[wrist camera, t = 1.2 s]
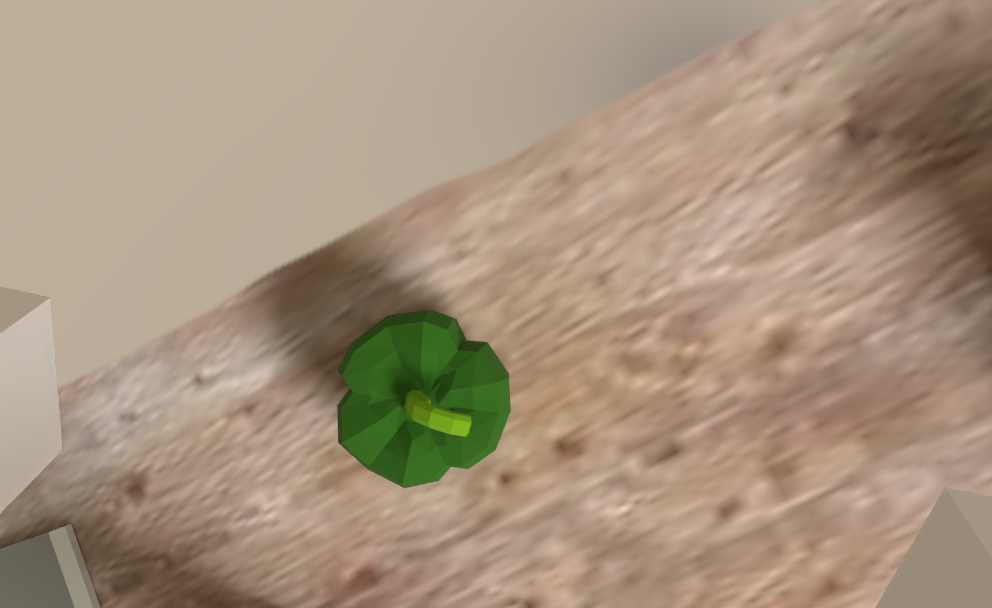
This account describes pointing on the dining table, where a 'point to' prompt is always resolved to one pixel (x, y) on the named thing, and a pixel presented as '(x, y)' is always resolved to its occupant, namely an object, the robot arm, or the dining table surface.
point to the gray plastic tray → (46, 573)
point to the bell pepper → (421, 398)
